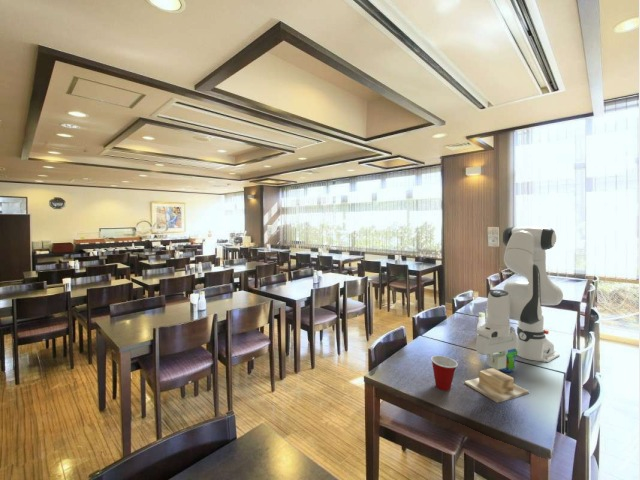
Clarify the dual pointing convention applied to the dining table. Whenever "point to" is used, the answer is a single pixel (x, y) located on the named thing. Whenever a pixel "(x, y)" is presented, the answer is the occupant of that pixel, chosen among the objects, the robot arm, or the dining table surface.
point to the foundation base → (494, 394)
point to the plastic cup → (443, 371)
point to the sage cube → (498, 361)
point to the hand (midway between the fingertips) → (496, 361)
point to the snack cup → (510, 360)
